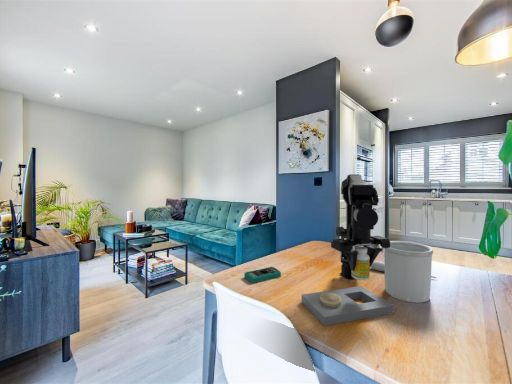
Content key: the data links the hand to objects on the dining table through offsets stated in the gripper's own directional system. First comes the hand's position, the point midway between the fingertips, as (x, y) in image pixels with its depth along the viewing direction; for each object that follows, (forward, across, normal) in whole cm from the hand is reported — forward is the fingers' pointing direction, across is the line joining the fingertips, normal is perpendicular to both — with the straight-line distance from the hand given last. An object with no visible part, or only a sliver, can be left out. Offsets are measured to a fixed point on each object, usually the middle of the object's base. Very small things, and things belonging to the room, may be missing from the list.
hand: (360, 269), depth 78 cm
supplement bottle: (+3, 0, 0) cm, 3 cm away
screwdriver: (+12, -36, -17) cm, 41 cm away
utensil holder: (+12, -21, -2) cm, 25 cm away
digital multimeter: (+12, +24, -31) cm, 41 cm away
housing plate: (+12, +6, 0) cm, 13 cm away
